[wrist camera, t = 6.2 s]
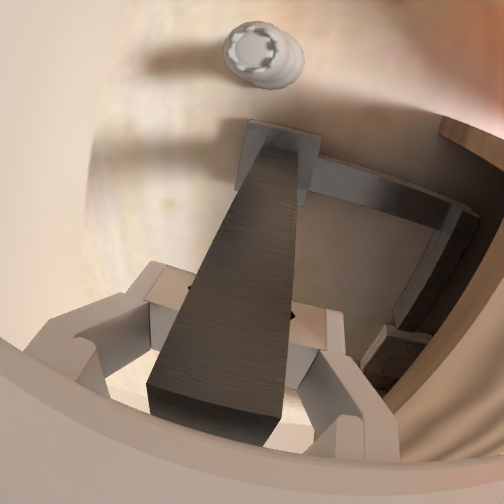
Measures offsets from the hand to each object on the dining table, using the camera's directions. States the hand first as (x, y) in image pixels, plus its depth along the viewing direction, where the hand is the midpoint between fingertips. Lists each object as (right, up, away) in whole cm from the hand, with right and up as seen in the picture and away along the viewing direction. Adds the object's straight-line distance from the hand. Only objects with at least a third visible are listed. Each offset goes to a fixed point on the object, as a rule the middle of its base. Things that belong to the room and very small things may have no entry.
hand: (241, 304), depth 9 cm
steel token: (+16, -9, +22) cm, 28 cm away
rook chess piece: (+2, +15, +10) cm, 18 cm away
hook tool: (+8, +3, +15) cm, 18 cm away
